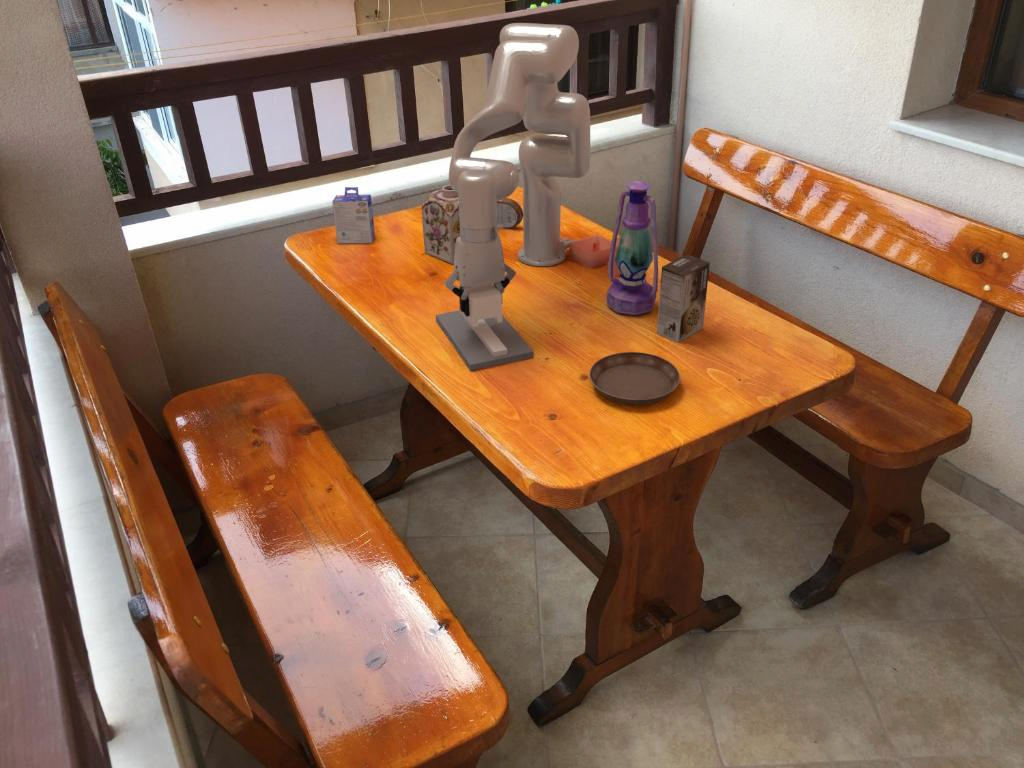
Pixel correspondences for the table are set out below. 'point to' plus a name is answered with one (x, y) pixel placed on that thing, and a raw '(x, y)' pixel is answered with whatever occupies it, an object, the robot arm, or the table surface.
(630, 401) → the plant saucer
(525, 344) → the rail board
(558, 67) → the robot arm
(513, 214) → the tin
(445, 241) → the decorative jar
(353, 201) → the ink cartridge box
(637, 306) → the lantern
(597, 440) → the table surface
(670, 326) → the coffee box
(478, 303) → the block
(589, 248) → the pottery
